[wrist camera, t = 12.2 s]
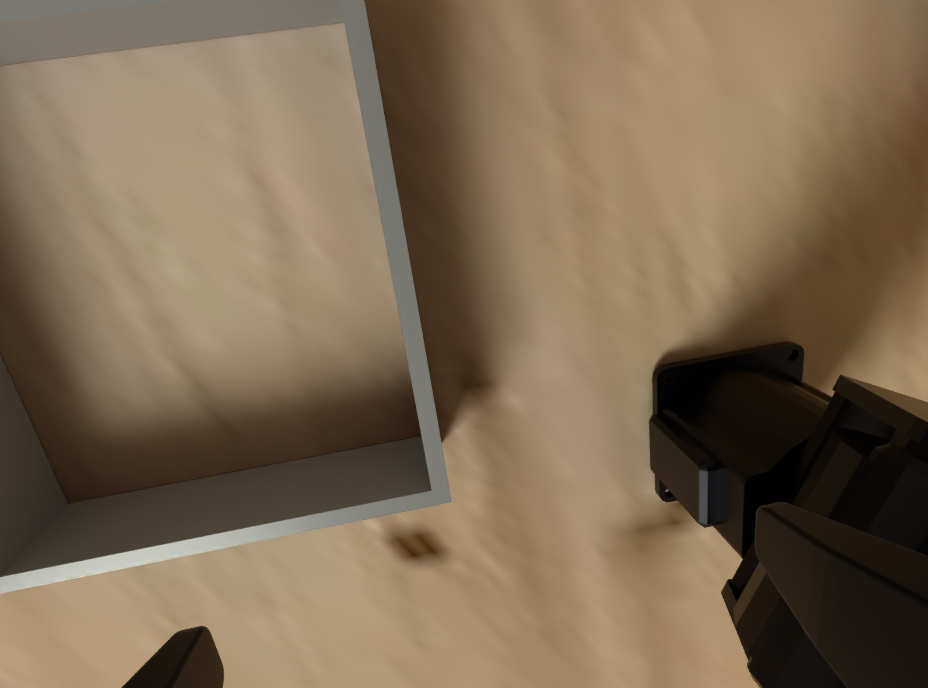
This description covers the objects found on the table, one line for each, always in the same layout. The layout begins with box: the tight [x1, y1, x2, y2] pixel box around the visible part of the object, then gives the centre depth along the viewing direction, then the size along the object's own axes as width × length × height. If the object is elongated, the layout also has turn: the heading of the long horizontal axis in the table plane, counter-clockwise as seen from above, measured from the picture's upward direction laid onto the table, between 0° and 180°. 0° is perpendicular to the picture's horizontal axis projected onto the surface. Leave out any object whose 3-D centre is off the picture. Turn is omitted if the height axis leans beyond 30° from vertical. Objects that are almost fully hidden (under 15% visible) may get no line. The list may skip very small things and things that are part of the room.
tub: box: [0, 0, 452, 593], centre depth 17 cm, size 15×16×4 cm
